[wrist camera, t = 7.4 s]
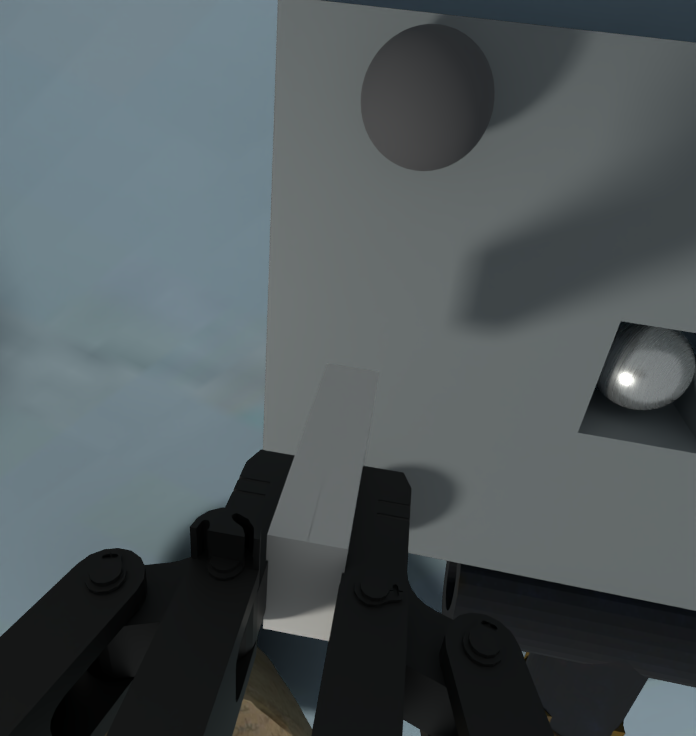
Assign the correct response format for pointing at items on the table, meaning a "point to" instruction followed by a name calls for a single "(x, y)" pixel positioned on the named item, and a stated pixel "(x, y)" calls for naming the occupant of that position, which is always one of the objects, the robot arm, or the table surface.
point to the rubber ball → (427, 97)
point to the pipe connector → (580, 643)
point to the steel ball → (646, 367)
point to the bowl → (269, 705)
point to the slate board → (497, 293)
